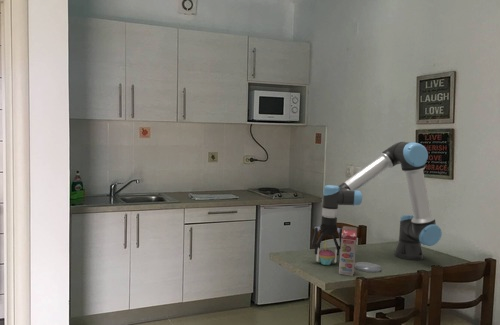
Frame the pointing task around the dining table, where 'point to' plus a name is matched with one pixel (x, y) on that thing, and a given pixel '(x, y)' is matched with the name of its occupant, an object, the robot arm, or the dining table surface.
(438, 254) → the dining table surface
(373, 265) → the plate
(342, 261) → the juice carton
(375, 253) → the dining table surface
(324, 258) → the cupcake
